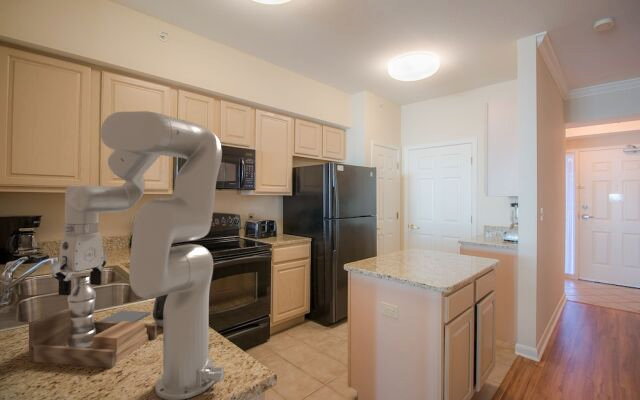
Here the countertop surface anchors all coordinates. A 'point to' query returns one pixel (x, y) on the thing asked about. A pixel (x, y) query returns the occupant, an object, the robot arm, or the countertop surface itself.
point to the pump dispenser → (159, 309)
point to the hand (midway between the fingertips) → (81, 289)
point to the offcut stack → (122, 338)
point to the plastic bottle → (81, 313)
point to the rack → (52, 340)
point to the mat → (126, 316)
